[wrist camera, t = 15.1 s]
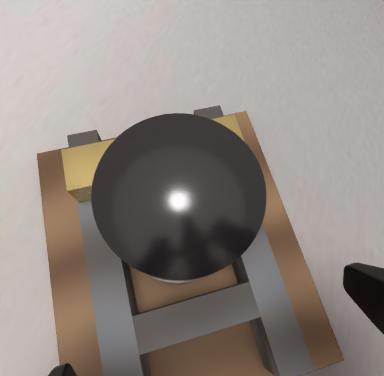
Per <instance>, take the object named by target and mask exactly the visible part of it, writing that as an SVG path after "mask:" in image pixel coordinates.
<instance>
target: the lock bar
mask: <svg viewBox="0 0 384 376" xmlns="http://www.w3.org/2000/svg"><path fill="white" fill-rule="evenodd" d="M211 120H214V121H216V122H218V123H220V124H222V125H224V126H226V127H227V128H229V129H230V130H232V131H233V132H234V133H236V134H237V135H238V136H239V137H240V138H241V139H242V140H243V141H244V139H243V136H242V133H241V131H240V128H239V125H238V123H237V120H236V117H235V115H229V116H224V117H219V118H214V119H211ZM114 140H115V139H112V140H107V141H102V142H97V143H92V144H87V145H82V146H77V147H73V148H68V149H63V150H61V153H62V160H63V167H64V174H65V181H66V188H67V192H68V193H69V194H70V195H71V196H73V197H74V198H75V199H76V200H77V201H78V202H79V203H80V202H84V201H89V200H91V190H92V182H93V178H94V174H95V171H96V168H97V166H98V163H99V161H100V159H101V157H102V156H103V154H104V152H105V151H106V150H107V148H108V147H109V146H110V144H111V143H112V142H113V141H114ZM244 142H245V141H244Z"/></svg>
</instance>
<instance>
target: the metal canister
mask: <svg viewBox="0 0 384 376" xmlns="http://www.w3.org/2000/svg"><path fill="white" fill-rule="evenodd" d="M266 197H267V193H266V184H265V180H264V175H263V172H262V169H261V167H260V164H259V162H258V160H257V158H256V157H255V155H254V153H253V152H252V150H251V149H250V148H249V146H248V145H247V144H246V143H245V142H244V141H243V140H242V139H241V138H240V137H239V136H238V135H237V134H236V133H234V132H233V131H232V130H230V129H229V128H227V127H226V126H224V125H222V124H220V123H218V122H216V121H214V120H211V119H208V118H206V117H202V116H198V115H192V114H178V113H174V114H164V115H160V116H155V117H152V118H149V119H146V120H143V121H141V122H139V123H137V124H135V125H133V126H132V127H130V128H128V129H127V130H125V131H124V132H123V133H122V134H120V135H119V136H118V137H117V138H116V139H115V140H114V141H113V142H112V143H111V144H110V146H109V147H108V148H107V150H106V151H105V152H104V154H103V156H102V157H101V159H100V161H99V163H98V166H97V168H96V171H95V174H94V178H93V182H92V190H91V203H92V210H93V216H94V219H95V222H96V225H97V228H98V230H99V232H100V234H101V236H102V238H103V239H104V240H105V242H106V243H107V245H108V246H109V248H110V249H111V250H112V251H113V252H114V253H115V254H116V255H117V256H118V257H119V258H120V259H122V260H123V261H124V262H125V263H127V264H128V265H130V266H131V267H133V268H135V269H137V270H138V271H140V272H142V273H145V274H147V275H149V276H151V277H153V278H155V279H157V280H159V281H161V282H164V283H167V284H171V285H182V284H187V283H190V282H192V281H195V280H198V279H200V278H203V277H206V276H208V275H211V274H213V273H215V272H218V271H220V270H222V269H224V268H225V267H227V266H228V265H230V264H232V263H233V262H234V261H235V260H237V259H238V258H239V257H240V256H241V255H242V254H243V253H244V252H245V251H246V250H247V249H248V248H249V246H250V245H251V244H252V242H253V241H254V239H255V238H256V236H257V234H258V232H259V230H260V228H261V225H262V222H263V219H264V215H265V209H266Z"/></svg>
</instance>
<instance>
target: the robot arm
mask: <svg viewBox="0 0 384 376" xmlns="http://www.w3.org/2000/svg"><path fill="white" fill-rule="evenodd" d="M343 286H344V289H345V291H346V292H347V294H348V295H349V296H350V297H351V298H352V299H353V301H354V302H355V303H356V304H357V305H358V306H359V308H360V309H361V310H362V311H363V312H364V313H365V315H366V316H367V317H368V318H369V319H370V320H371V322H372V323H373V324H374V325H375V326H376V327H377V328H378V329H379V330H380V331H381V332H382V333H383V334H384V268H379V267H375V266H370V265H366V264H361V263H352V264H349V265H347V266H345V268H344V277H343ZM48 376H77V375H76V373H75V371H74V369H73V367H72V366H71V364H70V363H65V364H62V365H59V366H57V367H55V368H54V369H53V370H52V371H51V372H50V374H49V375H48Z"/></svg>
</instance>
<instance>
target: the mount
mask: <svg viewBox="0 0 384 376" xmlns="http://www.w3.org/2000/svg"><path fill="white" fill-rule="evenodd" d="M194 115H198V116H202V117H206V118H208V119H214V118H219V117H224V115H223V113H222V110H221V107H220V105H219V106H214V107H209V108H204V109H199V110H194ZM229 115H235V117H236V120H237V123H238V125H239V128H240V131H241V133H242V136H243V139H244V141H245V143H246V144H247V145H248V146H249V148H250V149H251V150H252V152H253V153H254V155H255V157H256V158H257V160H258V162H259V164H260V167H261V169H262V172H263V175H264V180H265V184H266V193H267V197H266V209H265V215H264V219H263V222H262V225H261V228H260V230H259V232H258V234H257V236H256V238H255V239H254V241H253V242H252V244H251V245H250V246H249V248H248V249H247V250H246V251H245V252H244V253H243V254H242V255H241V256H240V257H239V258H238V259H237V260H235V261H234V262H233V263H232V264H230V265H228V266H227V267H225V268H224V269H222V270H220V271H218V272H215V273H213V274H211V275H208V276H206V277H203V278H200V279H198V280H195V281H192V282H190V283H187V284H182V285H171V284H167V283H164V282H161V281H159V280H157V279H155V278H153V277H151V276H149V275H147V274H145V273H142V272H140V271H138V270H137V269H135V268H133V267H131V266H130V265H128V264H127V263H125V262H124V261H123V260H122V259H120V258H119V257H118V256H117V255H116V254H115V253H114V252H113V251H112V250H111V249H110V248H109V246H108V245H107V243H106V242H105V240H104V239H103V238H102V236H101V234H100V232H99V230H98V228H97V225H96V222H95V219H94V216H93V210H92V203H91V200H89V201H84V202H80V203H79V202H78V201H77V200H76V199H75V198H74V197H73V196H71V195H70V194H69V193H68V192H67V188H66V181H65V174H64V167H63V160H62V153H61V150H63V149H68V148H73V147H77V146H82V145H87V144H92V143H97V142H102V141H107V140H112V139H116V138H112V139H107V140H102V141H101V138H100V136H99V134H98V132H97V130H93V131H88V132H83V133H78V134H73V135H68V136H67V137H68V144H69V147H68V148H63V149H58V150H53V151H48V152H43V153H38V154H37V160H38V169H39V178H40V187H41V197H42V206H43V215H44V224H45V233H46V242H47V252H48V261H49V270H50V279H51V288H52V298H53V307H54V316H55V325H56V334H57V343H58V353H59V362H60V365H62V364H65V363H70V364H71V366H72V367H73V369H74V371H75V373H76V375H77V376H301V375H303V374H306V373H309V372H312V371H315V370H317V369H320V368H323V367H326V366H329V365H331V364H334V363H337V362H340V361H343V360H344V358H343V356H342V353H341V351H340V348H339V346H338V343H337V341H336V338H335V336H334V333H333V330H332V328H331V325H330V323H329V320H328V318H327V315H326V313H325V310H324V308H323V305H322V302H321V300H320V297H319V295H318V292H317V290H316V287H315V285H314V282H313V280H312V277H311V274H310V272H309V269H308V267H307V264H306V262H305V259H304V257H303V254H302V252H301V249H300V246H299V244H298V241H297V239H296V236H295V234H294V231H293V229H292V226H291V224H290V221H289V218H288V216H287V213H286V211H285V208H284V206H283V203H282V201H281V198H280V196H279V193H278V190H277V188H276V185H275V183H274V180H273V178H272V175H271V173H270V170H269V168H268V165H267V162H266V160H265V157H264V155H263V152H262V150H261V147H260V145H259V142H258V140H257V137H256V134H255V132H254V129H253V127H252V124H251V122H250V119H249V117H248V114H247V112H246V111H244V112H239V113H234V114H229ZM229 115H225V116H229Z"/></svg>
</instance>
